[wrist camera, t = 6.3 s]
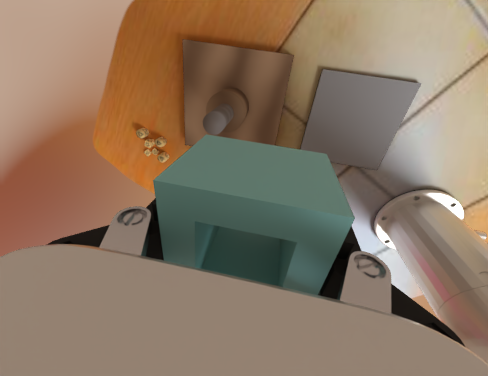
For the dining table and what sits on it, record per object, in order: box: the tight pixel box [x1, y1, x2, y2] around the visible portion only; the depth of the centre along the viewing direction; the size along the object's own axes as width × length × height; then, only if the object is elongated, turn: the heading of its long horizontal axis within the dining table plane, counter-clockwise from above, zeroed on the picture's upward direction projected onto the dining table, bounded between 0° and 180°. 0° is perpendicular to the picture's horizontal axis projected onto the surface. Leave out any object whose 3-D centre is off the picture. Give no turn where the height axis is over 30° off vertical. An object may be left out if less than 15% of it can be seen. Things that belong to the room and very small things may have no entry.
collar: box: [153, 134, 355, 295], centre depth 10 cm, size 6×6×5 cm
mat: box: [300, 69, 421, 170], centre depth 30 cm, size 12×12×1 cm
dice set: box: [136, 127, 169, 162], centre depth 36 cm, size 5×5×2 cm
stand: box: [183, 39, 294, 146], centre depth 26 cm, size 14×14×11 cm
